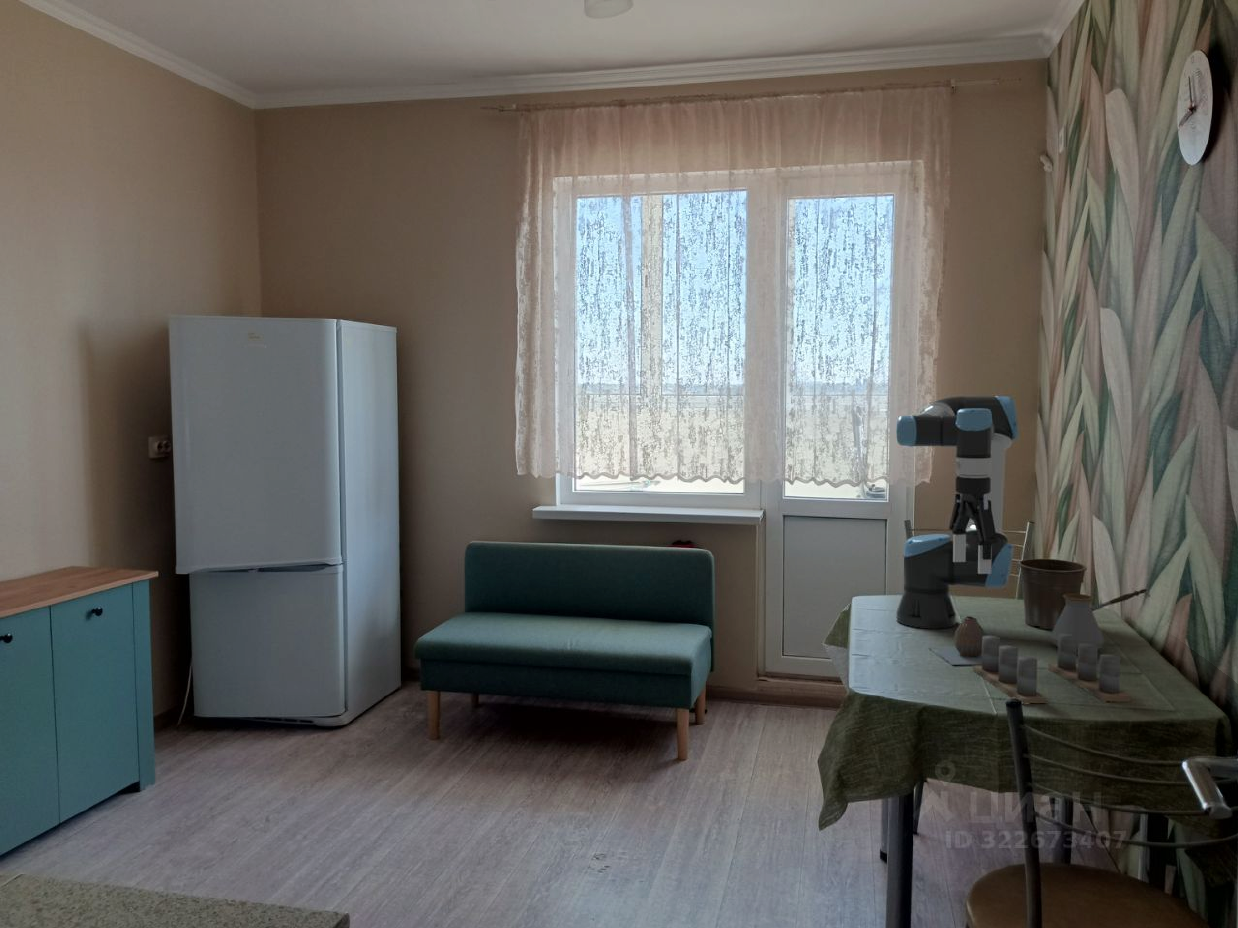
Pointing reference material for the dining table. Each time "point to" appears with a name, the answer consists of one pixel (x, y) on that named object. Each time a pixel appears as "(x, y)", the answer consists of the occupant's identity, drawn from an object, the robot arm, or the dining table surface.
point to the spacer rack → (1022, 671)
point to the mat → (957, 656)
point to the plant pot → (1048, 588)
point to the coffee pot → (1083, 618)
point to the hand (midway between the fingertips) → (971, 567)
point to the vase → (969, 637)
